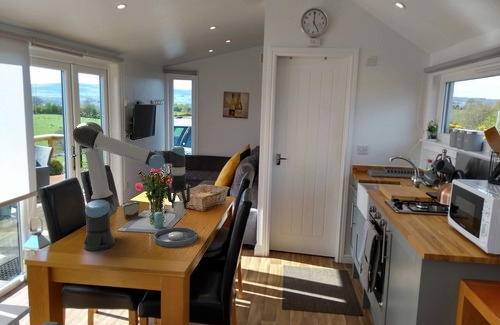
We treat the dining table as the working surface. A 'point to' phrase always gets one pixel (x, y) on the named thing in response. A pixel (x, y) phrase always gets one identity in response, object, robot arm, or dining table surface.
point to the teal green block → (158, 219)
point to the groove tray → (182, 242)
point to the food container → (131, 209)
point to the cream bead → (179, 209)
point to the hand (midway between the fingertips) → (179, 213)
